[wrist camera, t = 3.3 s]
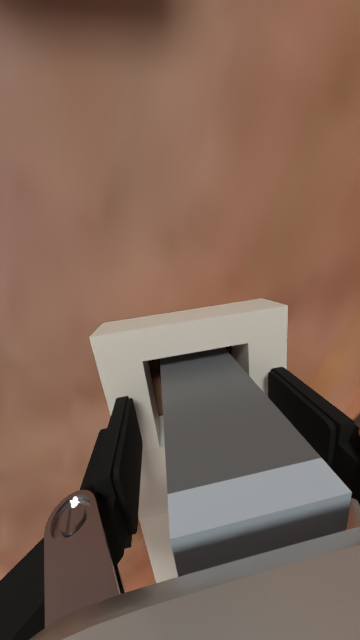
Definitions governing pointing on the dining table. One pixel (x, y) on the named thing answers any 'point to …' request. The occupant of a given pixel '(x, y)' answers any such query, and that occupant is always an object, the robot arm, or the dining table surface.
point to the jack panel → (135, 382)
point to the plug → (238, 467)
